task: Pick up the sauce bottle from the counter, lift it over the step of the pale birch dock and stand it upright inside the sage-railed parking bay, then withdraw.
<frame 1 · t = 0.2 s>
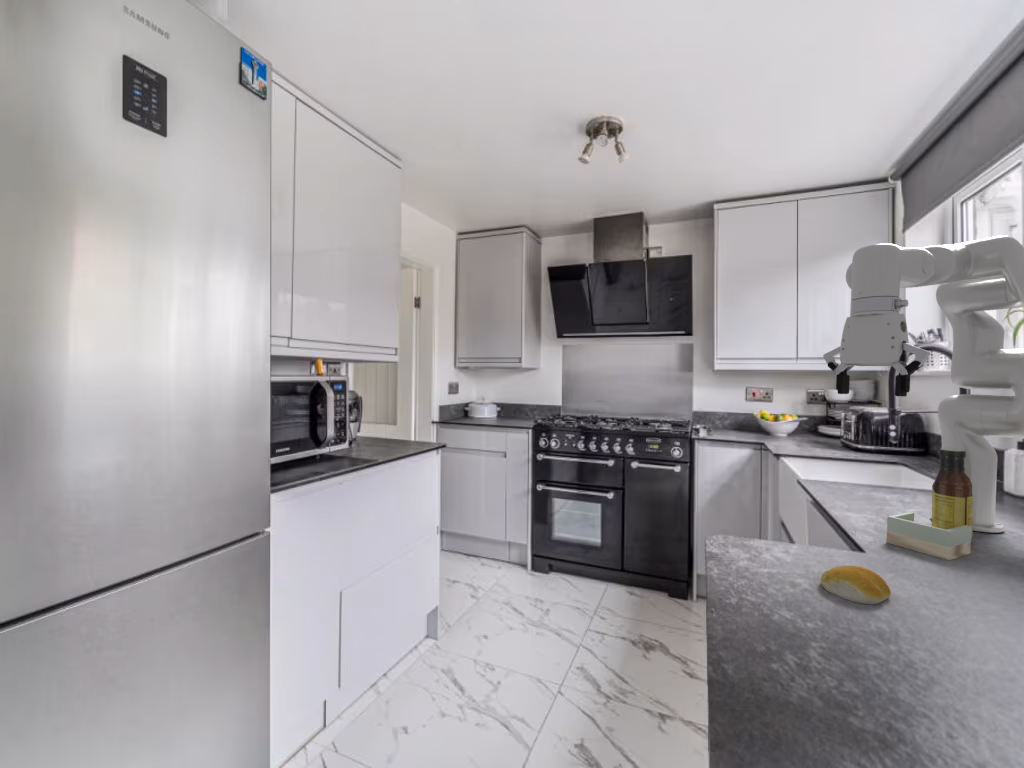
hand: (870, 395, 89), 31 cm above the countertop, tool pointing down, fingers open, 9 cm apart
dock: (927, 547, 91), on the countertop
sauce bottle: (950, 542, 96), on the countertop
bread roll: (854, 594, 70), on the countertop
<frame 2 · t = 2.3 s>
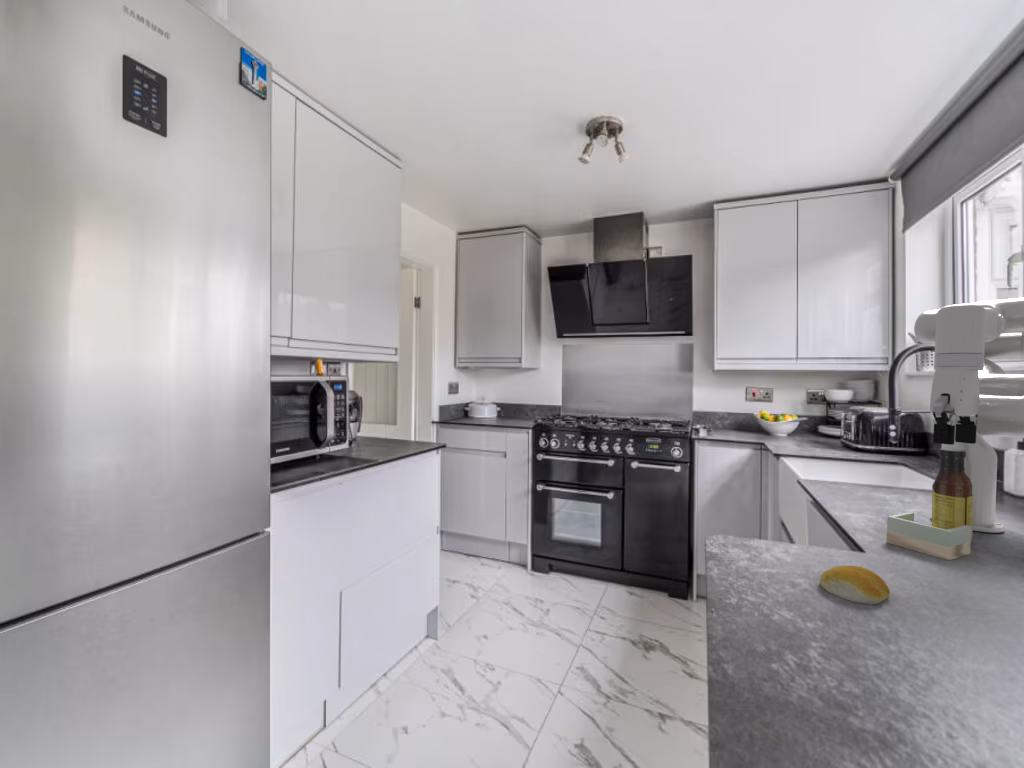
hand: (954, 443, 95), 21 cm above the countertop, tool pointing down, fingers open, 9 cm apart
nothing on the countertop moved.
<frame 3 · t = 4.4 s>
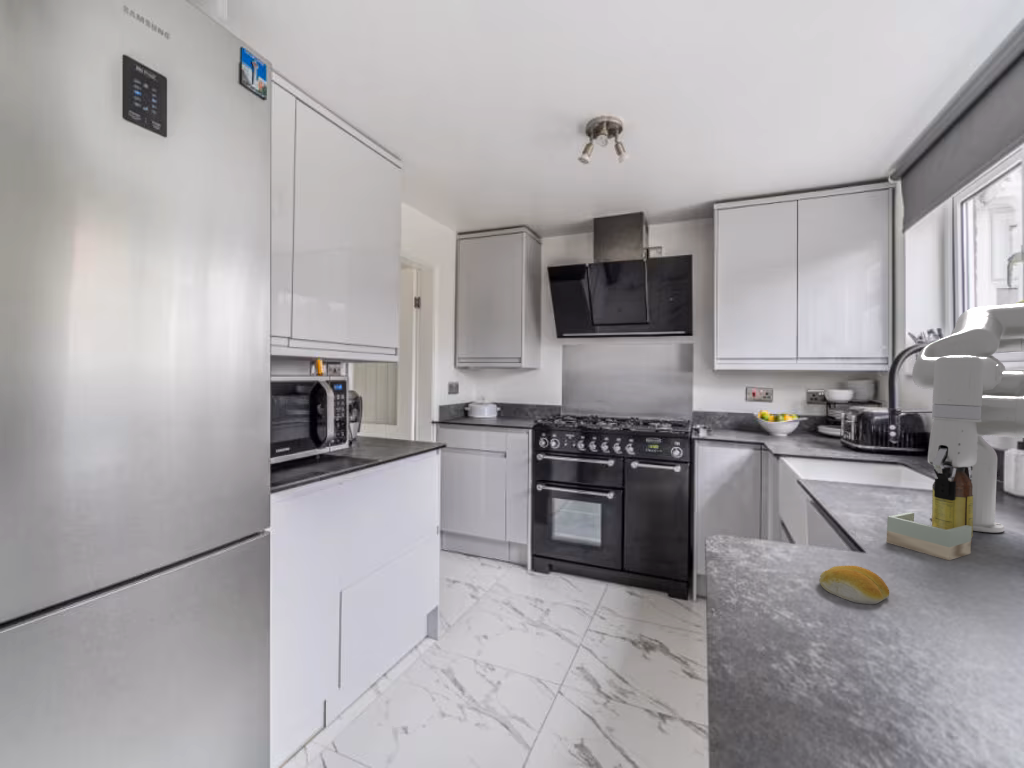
hand: (952, 496, 96), 10 cm above the countertop, tool pointing down, fingers closed on sauce bottle, 6 cm apart
sauce bottle: (950, 542, 96), on the countertop, touching gripper
everything else where it was.
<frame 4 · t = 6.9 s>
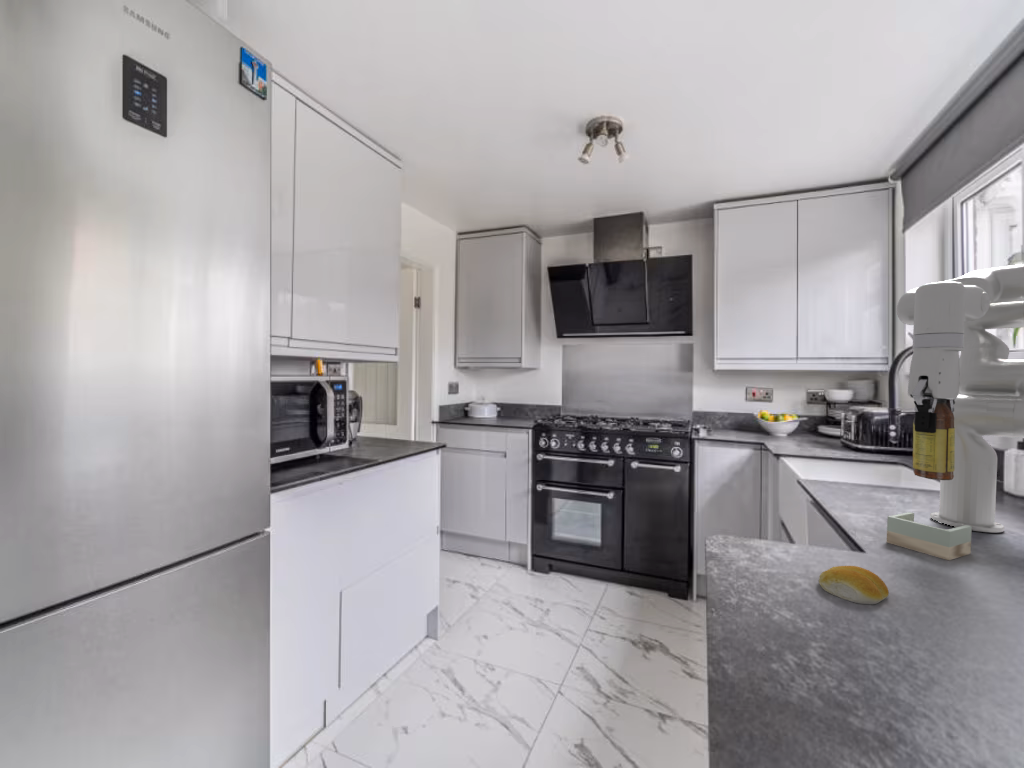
hand: (933, 431, 91), 24 cm above the countertop, tool pointing down, fingers closed on sauce bottle, 6 cm apart
sauce bottle: (931, 478, 91), point 14 cm above the countertop, touching gripper
everything else where it was.
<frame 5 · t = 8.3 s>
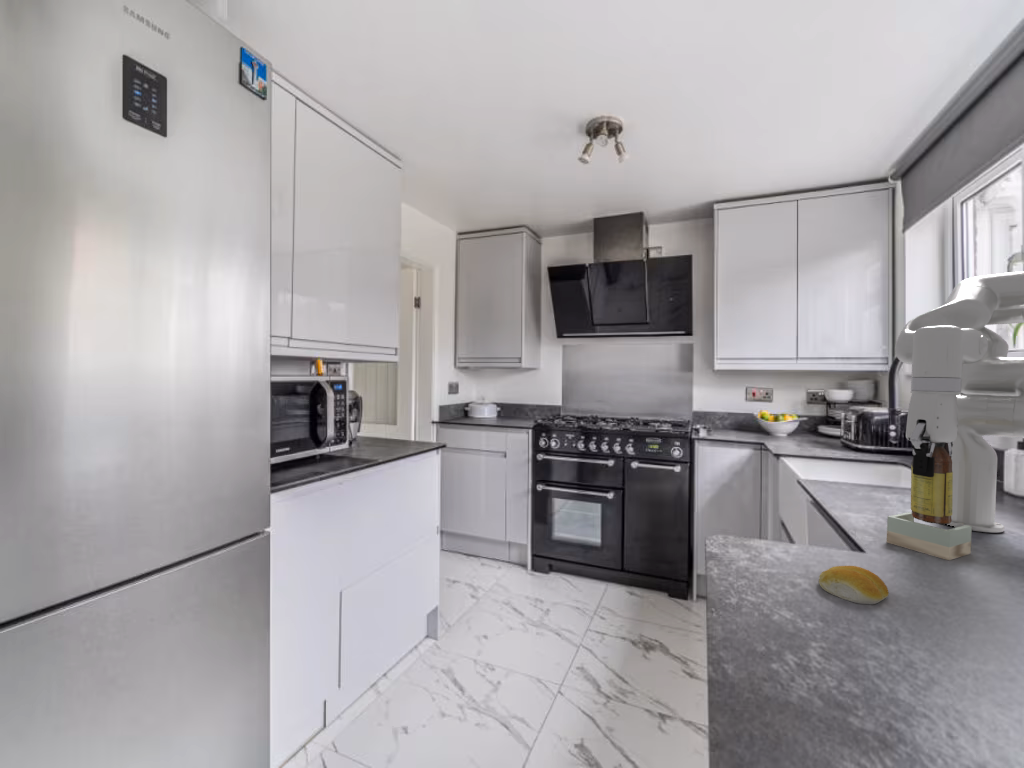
hand: (931, 473, 91), 15 cm above the countertop, tool pointing down, fingers closed on sauce bottle, 6 cm apart
sauce bottle: (929, 521, 92), point 5 cm above the countertop, touching gripper
everything else where it was.
when the fingers open (13 cm above the countertop, at t = 9.6 s): sauce bottle drops 1 cm, resting on dock.
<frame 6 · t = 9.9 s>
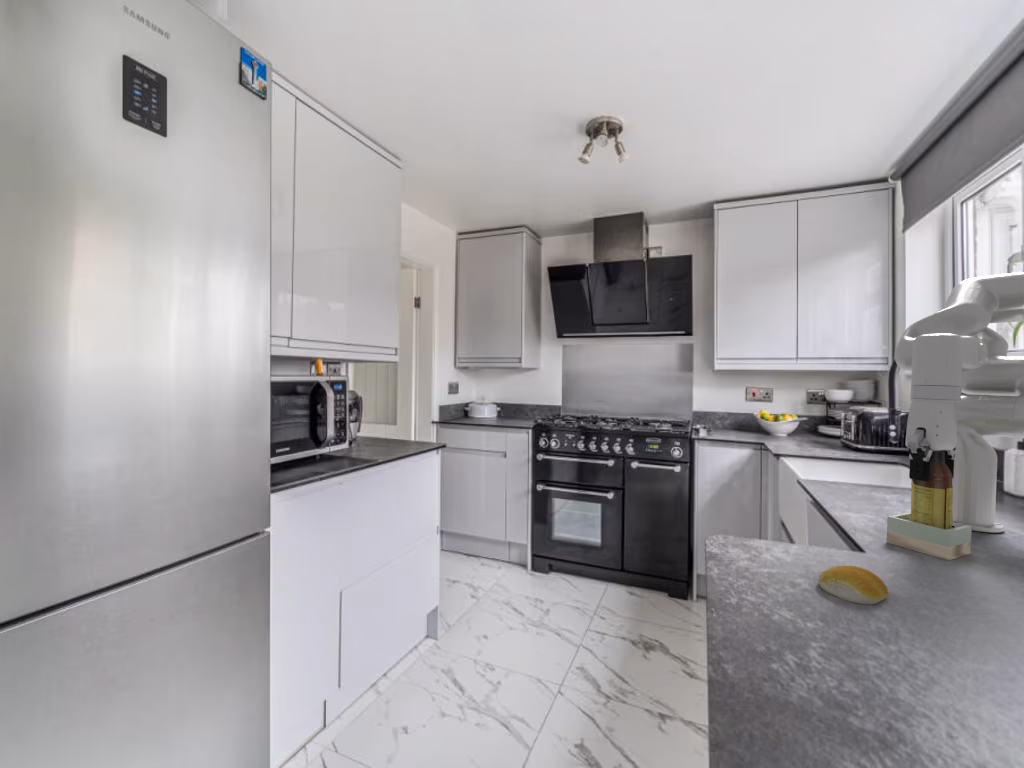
hand: (931, 478, 91), 14 cm above the countertop, tool pointing down, fingers open, 9 cm apart
sauce bottle: (929, 535, 92), point 2 cm above the countertop, touching dock
everything else where it was.
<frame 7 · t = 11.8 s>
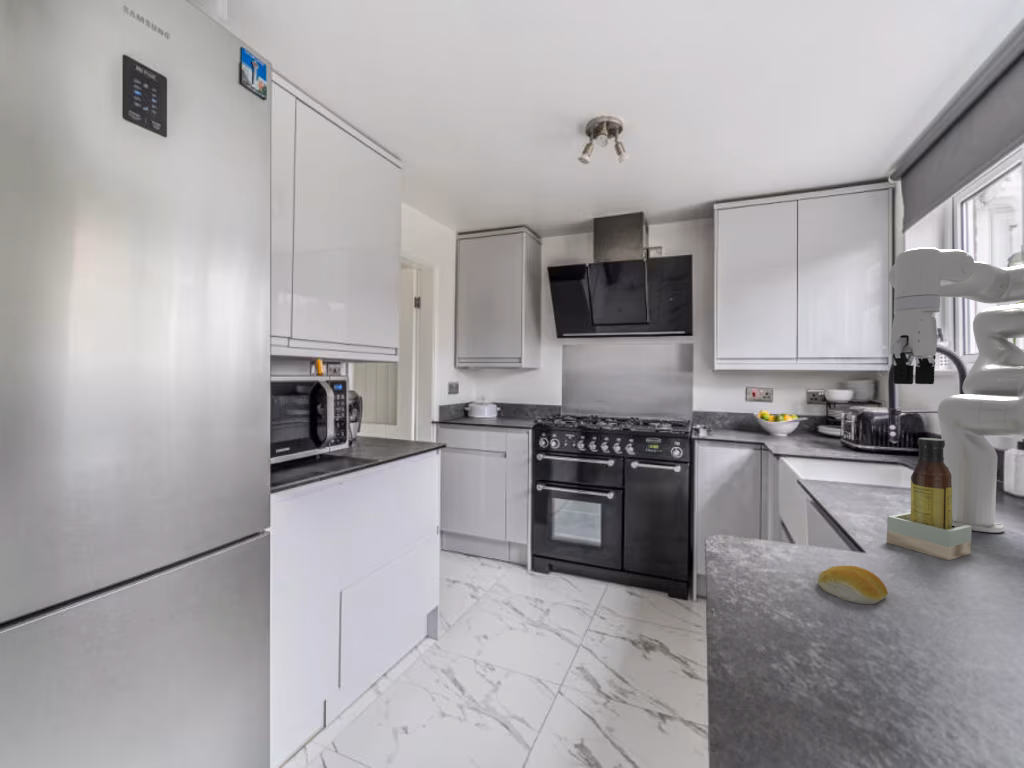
hand: (914, 384, 99), 34 cm above the countertop, tool pointing down, fingers open, 9 cm apart
nothing on the countertop moved.
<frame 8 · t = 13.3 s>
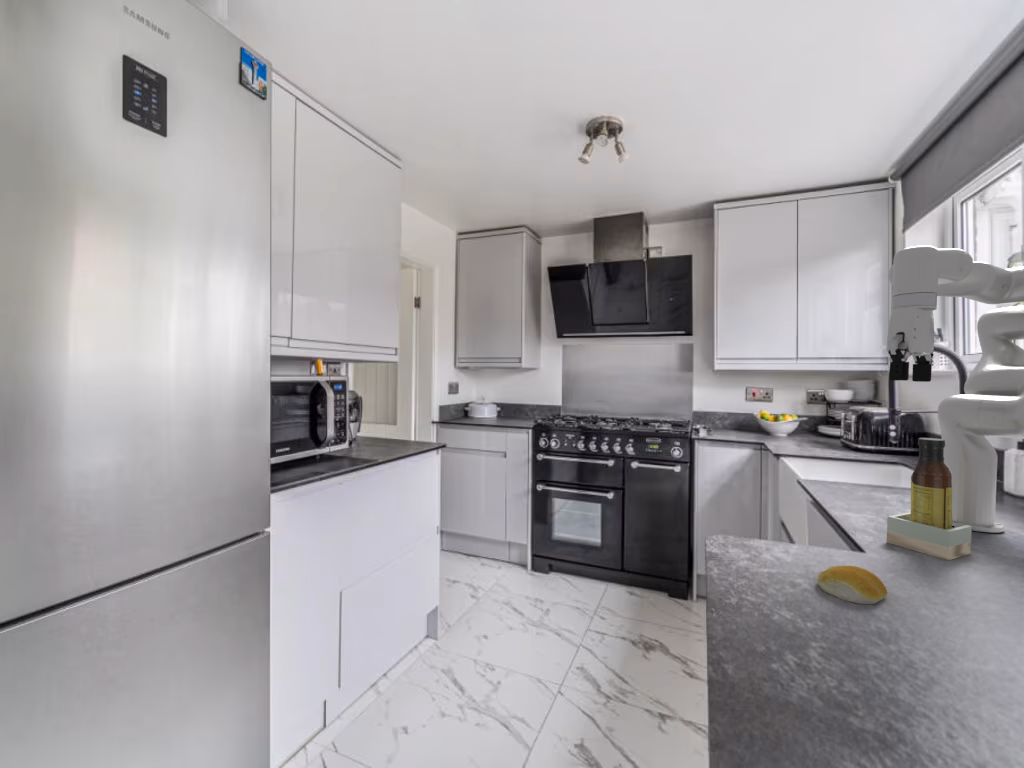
hand: (910, 380, 99), 34 cm above the countertop, tool pointing down, fingers open, 9 cm apart
nothing on the countertop moved.
at the end: sauce bottle 0.9 cm off-centre on the dock, point 2.3 cm above the dock's base; sauce bottle tilted 0°; the gripper is holding nothing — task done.
